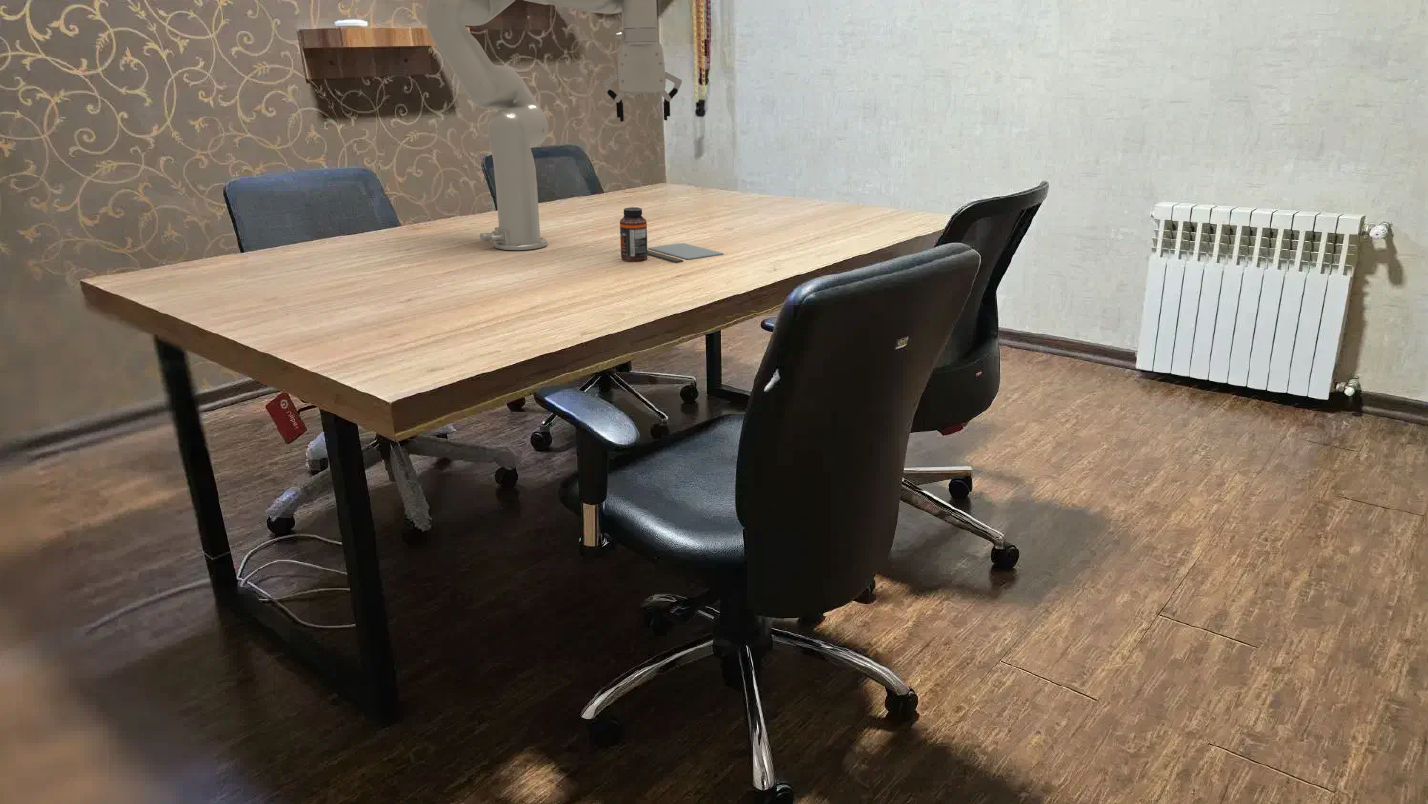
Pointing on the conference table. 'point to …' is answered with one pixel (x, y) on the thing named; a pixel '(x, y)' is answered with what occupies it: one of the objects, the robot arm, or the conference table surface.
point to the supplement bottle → (633, 235)
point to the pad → (685, 251)
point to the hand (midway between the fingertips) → (643, 120)
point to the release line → (664, 257)
